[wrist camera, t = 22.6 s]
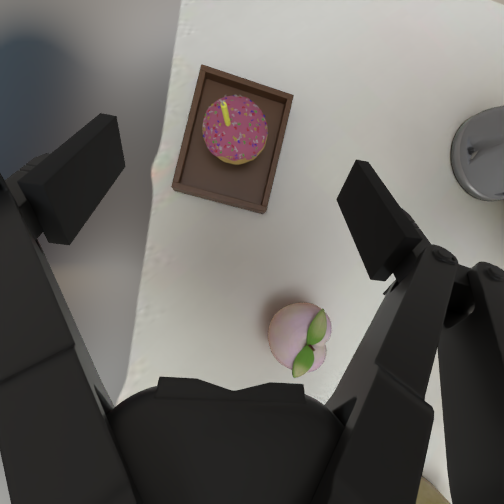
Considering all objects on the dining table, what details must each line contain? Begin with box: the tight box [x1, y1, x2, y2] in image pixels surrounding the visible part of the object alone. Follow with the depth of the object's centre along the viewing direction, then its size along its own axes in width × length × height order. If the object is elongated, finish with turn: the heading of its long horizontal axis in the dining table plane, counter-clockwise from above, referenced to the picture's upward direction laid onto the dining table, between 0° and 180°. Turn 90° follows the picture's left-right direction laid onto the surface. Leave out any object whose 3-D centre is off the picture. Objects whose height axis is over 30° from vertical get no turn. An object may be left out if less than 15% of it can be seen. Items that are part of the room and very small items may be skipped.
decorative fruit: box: [268, 303, 331, 378], centre depth 35 cm, size 9×8×10 cm
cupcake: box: [202, 95, 268, 165], centre depth 32 cm, size 9×8×12 cm
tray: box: [172, 65, 293, 214], centre depth 37 cm, size 18×14×2 cm
